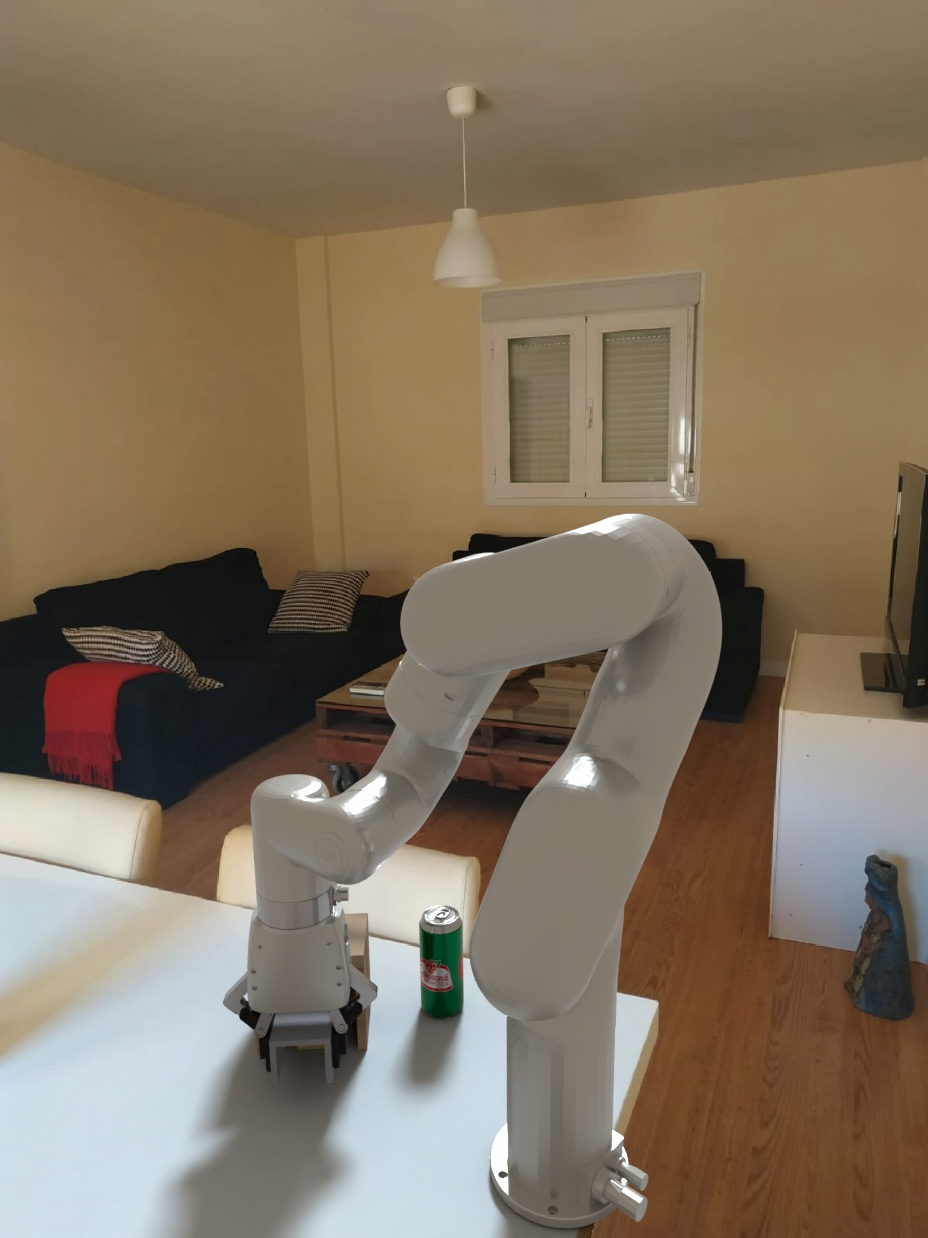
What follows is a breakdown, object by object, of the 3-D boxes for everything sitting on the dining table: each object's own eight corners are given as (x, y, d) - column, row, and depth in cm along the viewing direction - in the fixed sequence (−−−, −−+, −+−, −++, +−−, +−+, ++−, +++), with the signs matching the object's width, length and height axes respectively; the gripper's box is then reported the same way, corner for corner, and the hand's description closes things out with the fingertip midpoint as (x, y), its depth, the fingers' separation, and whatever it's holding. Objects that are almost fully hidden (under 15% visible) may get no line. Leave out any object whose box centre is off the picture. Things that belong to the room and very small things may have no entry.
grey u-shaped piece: (332, 1082, 86) (330, 1038, 85) (271, 1086, 86) (269, 1041, 85) (342, 995, 100) (341, 956, 99) (290, 998, 99) (288, 959, 98)
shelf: (367, 1049, 95) (363, 955, 92) (257, 1055, 94) (250, 960, 92) (371, 1000, 103) (367, 913, 101) (269, 1005, 102) (264, 917, 100)
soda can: (413, 1013, 101) (410, 919, 98) (434, 989, 105) (432, 899, 103) (450, 1026, 98) (449, 930, 96) (471, 1001, 103) (470, 909, 100)
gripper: (384, 878, 89) (389, 1032, 92) (215, 885, 88) (227, 1041, 91) (382, 917, 82) (388, 1083, 85) (197, 925, 81) (211, 1093, 84)
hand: (304, 1059), depth 88 cm, fingers closed on grey u-shaped piece, 6 cm apart
